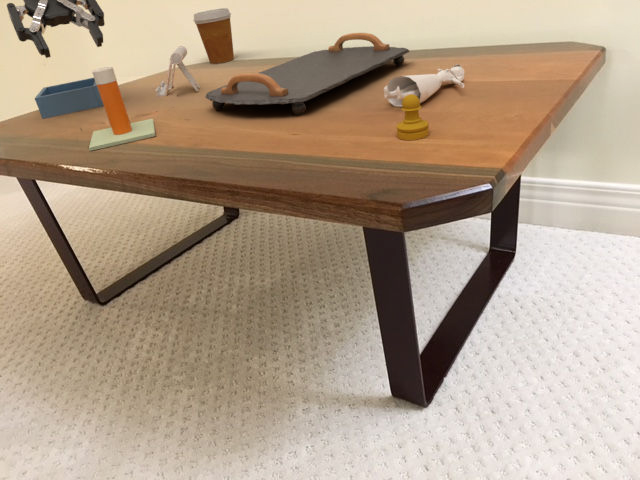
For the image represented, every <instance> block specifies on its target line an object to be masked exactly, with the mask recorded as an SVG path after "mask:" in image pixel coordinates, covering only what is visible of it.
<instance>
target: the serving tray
mask: <svg viewBox="0 0 640 480" xmlns="http://www.w3.org/2000/svg"><path fill="white" fill-rule="evenodd" d="M356 40H357V41H358V40H359V41H367V42H370V43H371V44H372V45H373V46H371V45H370V46H354V47H343V46H344V44H345V42H348V41H356ZM408 53H410V50H409V48H406V47H396V46H390V44H389V43H384V42H382V40H381V39H380V38H379V37H377V36H376V35H374V34H373V33H368V32H351V33H346V34H344V35H342V36H340V37H339V38H338V39H336V41H335V43H334V45H330V46H328V49H322V50H317V51H312V52H309V53H307V54H304V55H301V56H298V57H297V58H293V59H291V60H288V61H286V62H284V63H281V64H278V65H275V66H273V67H272V66H271V67H270V68H268V69H265V70H263V71H259V72H243V73H240V74H236V75H234V76H233V77H231V78H230V79H229V81H228V83H227V84H226V85H223V86H220V87H218V88H215V89H213V90H210V91H208V92H206V94H205V98H206V99H207V100H209V101H210V102H212V103H211V104H212V108H213V109H215V112H216V111H222V110H223V111H224V109H225V105H226V104H230V105H238V106H239V105H240V106H245V105H247V106H250V105H251V106H253V105H256V106H264V105H287V104H292V105H291V111H292V113H293V114H294V115H295V116H296V117H300V116H303V115H305V112H306V110H307V106H306V103H304V102H307V101H310V100H312V99H314V98H316V97H318V96H320V95H322V94H324V93H326V92H329V91H331V90H333V89H335V88H337V87H339V86H343V85H344V84H346V83H347V82H349V81H351V80H353V79H356V78H358V77H361V76H363V75H365V74H368V73H369V72H371V71H373V70H375V69H377V68H380V67H381V66H384V65H386V64H387V63H389V62H391V61H392V62H393V65H394V66H395V67H401V66H403V64H404V62H405V56H404V55H407V54H408Z"/></svg>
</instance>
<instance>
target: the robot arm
mask: <svg viewBox="0 0 640 480" xmlns="http://www.w3.org/2000/svg"><path fill="white" fill-rule="evenodd" d="M22 1H23V3H24V4H23V5H17V6H16V5H15V4H14V2H8V3H7V4H6V8H7V13H8V15H9V16H8V17H9V19H10V21H11V24H12V27H13V29H14V31H15V33H16V36H17V38H18V41H20V42H23V43H24V42H26V41H31V42H33V44H34V46H35V48H36V50H37V52H38V54H39V55H41V56H44V57H45V59H48V58H51V57H52V55H51V51H50V49H49V48H50V47H49V46H48V44H47V42H46V41H45V38H44V34H45V32H46V30H47V28H48V26H49V27H50V28H53V27H57V26H59V25H70V24H71V23H72V24H73V25H76V26H77V27H79V28H81V27H82V28H85V29H86V30H88V32H89V34H90V36H91V38H92V40H93V42H94V43H95V45H96V48H100V47H103V43H104V34H103V32H102V30H101V28H100V27H104V26H105V12H104V11H103V9H102V8H101V7H100V5H99V3H98V1H97V0H22ZM81 6H82V7H81ZM84 9H85V10H86V11H85V10H84ZM87 11H88V12H87ZM25 15H27V16H28V17H30V18H32V22H31V24H30V25H29V27H25V25H24V24H23V20H24V19H25Z"/></svg>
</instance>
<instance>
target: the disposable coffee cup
mask: <svg viewBox="0 0 640 480" xmlns="http://www.w3.org/2000/svg"><path fill="white" fill-rule="evenodd" d="M231 15H232V13H231V12H230V10H229V8H228V7H223V8H216V9H209V10H204V11H200V12H196V13H193V20H192V21H193V22H194V24H195V25H196V28H197V31H198V33H199V36H200V39H201V42H202V44H203V47H204V50H205V53H206V55H207V58H208V61H209V64H212V65H217V64H223V63H227V62H231V61H234V59H235V54H234V42H233V33H232V24H231V23H232V22H231Z"/></svg>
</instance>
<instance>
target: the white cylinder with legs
mask: <svg viewBox="0 0 640 480" xmlns="http://www.w3.org/2000/svg"><path fill="white" fill-rule="evenodd" d="M187 55H188V50H187V47H185V46H178V47H177V48H176V49H175V50H174V51H173V53H172V54H171V55H170V58H169V66H168V73H167V80H166V82H165V80H162V81H161V82H160V84H159V86H157V87H156V89H155V95H156V98H162V97H167V96H168V94H169V91H170V90H171V89H173V86H174V79H175V73H176V67H178V68H179V70H180V71H181V72H182V74H183V75H184V77H185V78H186V80H187V81H188V83H189V84H190V85H191V87H192V88H193V89H194V91H195V92H196V93H198V92H199V90H200V89H201V85H200V84H199V83H198V81H197V80H196V79H195V77H194V76H193V74H192V73H191V72H190V71H189V69H188V68H187V65H185V63H184V61H183V60H184V59H185V58H186V56H187Z"/></svg>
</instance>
